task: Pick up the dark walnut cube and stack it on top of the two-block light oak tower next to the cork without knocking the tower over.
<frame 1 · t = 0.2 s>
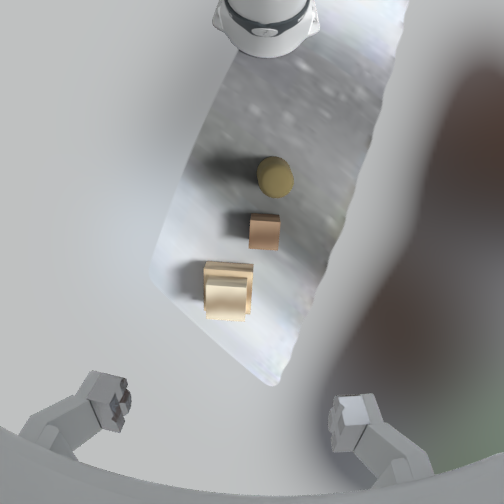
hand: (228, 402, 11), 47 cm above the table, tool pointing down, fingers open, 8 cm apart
tower base: (229, 282, 62), on the table, touching tower mid
cork: (273, 173, 54), on the table
tower mid: (227, 293, 59), point 4 cm above the table, touching tower base
walnut cube: (264, 227, 58), on the table
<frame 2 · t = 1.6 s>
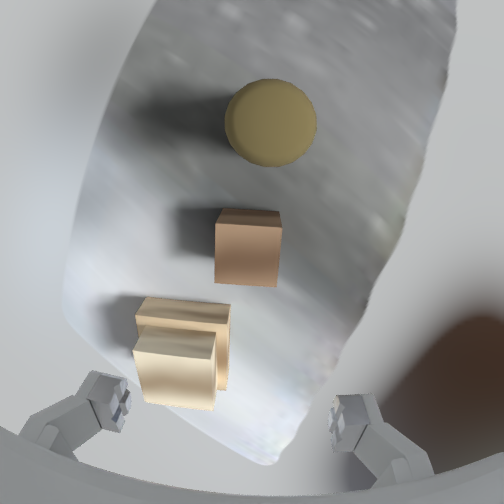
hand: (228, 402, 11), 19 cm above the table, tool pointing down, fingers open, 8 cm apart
tower base: (189, 333, 34), on the table, touching tower mid
cork: (268, 126, 25), on the table
tower mid: (182, 356, 30), point 4 cm above the table, touching tower base
walnut cube: (249, 235, 29), on the table
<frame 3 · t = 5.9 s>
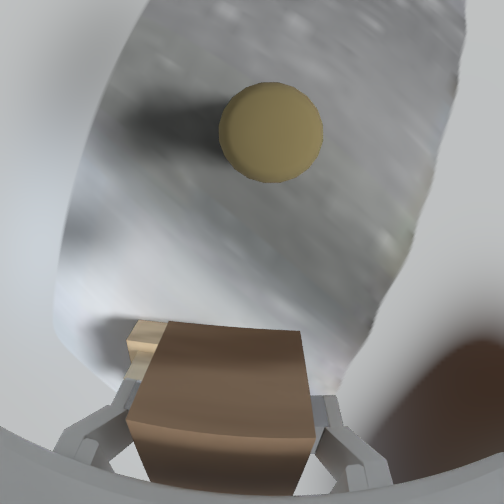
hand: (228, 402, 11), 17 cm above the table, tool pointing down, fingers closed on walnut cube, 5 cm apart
tower base: (185, 357, 32), on the table
cork: (267, 136, 24), on the table
tower mid: (178, 382, 28), point 4 cm above the table
walnut cube: (232, 374, 12), point 15 cm above the table, touching gripper
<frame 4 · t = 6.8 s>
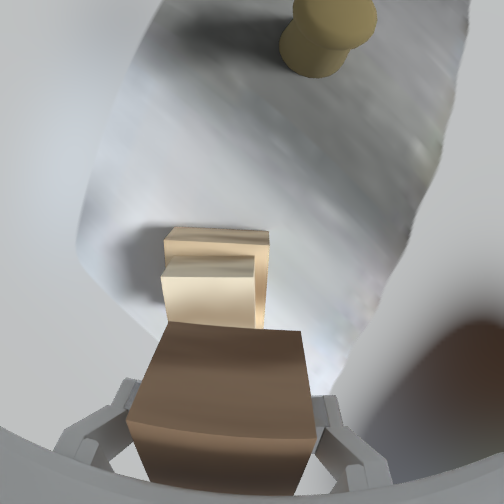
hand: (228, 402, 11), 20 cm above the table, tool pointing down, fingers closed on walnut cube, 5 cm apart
tower base: (220, 270, 32), on the table, touching tower mid
cork: (312, 48, 23), on the table
tower mid: (216, 291, 28), point 4 cm above the table, touching tower base
walnut cube: (232, 374, 12), point 18 cm above the table, touching gripper
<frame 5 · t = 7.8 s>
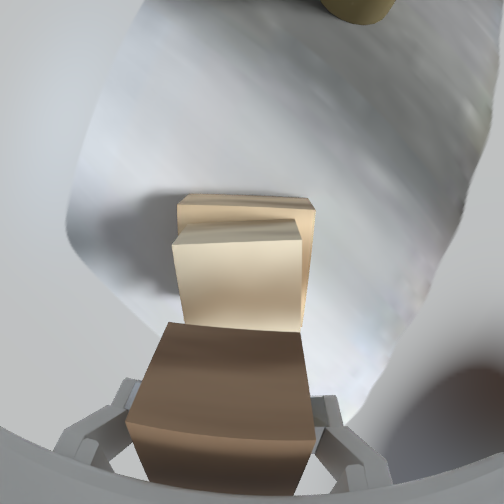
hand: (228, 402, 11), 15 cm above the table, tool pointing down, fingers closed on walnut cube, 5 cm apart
tower base: (246, 249, 25), on the table
tower mid: (243, 270, 22), point 4 cm above the table
walnut cube: (231, 376, 12), point 14 cm above the table, touching gripper
when the fingers open (10 cm above the table, at t = 9.3 s): walnut cube drops 1 cm, point 8 cm above the table.
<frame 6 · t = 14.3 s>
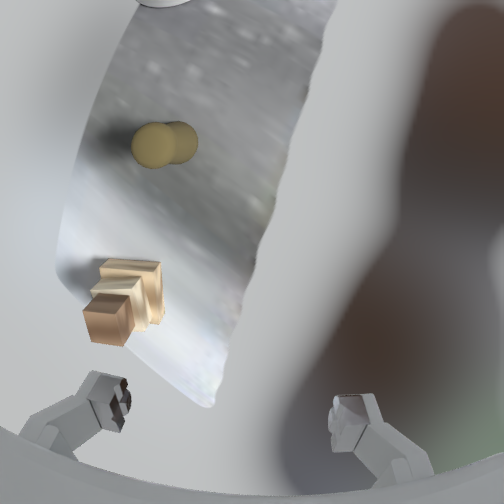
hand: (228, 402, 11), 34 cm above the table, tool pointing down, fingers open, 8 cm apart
tower base: (137, 284, 48), on the table, touching tower mid
cork: (176, 142, 40), on the table
tower mid: (126, 297, 45), point 4 cm above the table, touching tower base
walnut cube: (116, 309, 41), point 8 cm above the table
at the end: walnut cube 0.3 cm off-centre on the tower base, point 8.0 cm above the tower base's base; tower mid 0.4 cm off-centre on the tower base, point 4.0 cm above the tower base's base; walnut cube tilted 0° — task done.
